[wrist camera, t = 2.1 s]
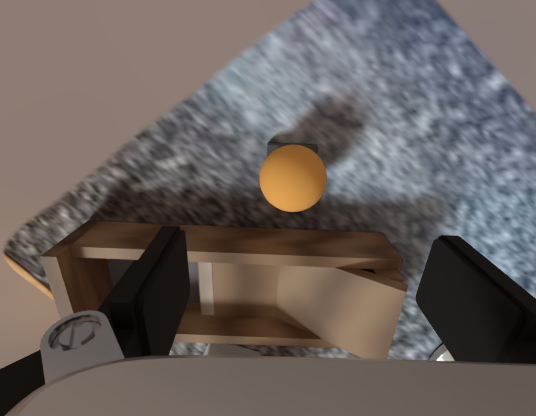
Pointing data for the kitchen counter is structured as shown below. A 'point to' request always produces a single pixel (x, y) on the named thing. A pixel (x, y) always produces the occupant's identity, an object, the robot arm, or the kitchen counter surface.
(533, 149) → the kitchen counter surface
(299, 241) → the brown long open tray
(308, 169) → the ball
